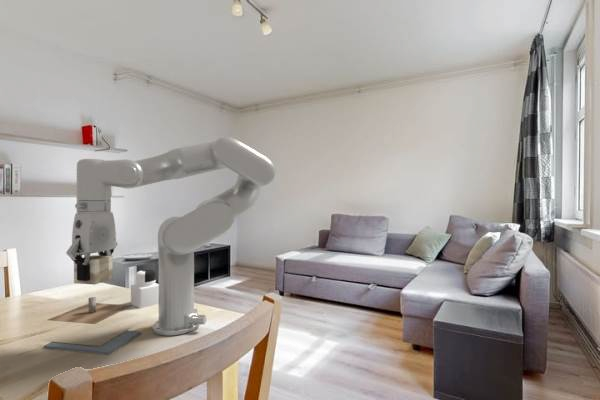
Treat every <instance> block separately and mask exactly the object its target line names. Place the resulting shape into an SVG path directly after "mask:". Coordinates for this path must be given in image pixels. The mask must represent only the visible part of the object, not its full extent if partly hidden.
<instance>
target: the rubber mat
mask: <svg viewBox="0 0 600 400" xmlns="http://www.w3.org/2000/svg"><path fill="white" fill-rule="evenodd" d="M141 334H142V331H140V330H139V331H136V330H125V331H123V332H122V333H120V334H119V335H117V336H115V337H113V338H111V339H110V340H108V341H107V342H105V343H103V344H102V345H91V344H80V343H71V342H70V343H68V342H59V341H58V342H57V341H50V342H48V343H46V344H44V345H43V349H48V350H57V351H58V350H59V351H69V352H77V353H78V352H79V353H87V354H90V353H91V354H99V355H110V354H112V353H113V352H115V351H116V350H118V349H120V348H121V347H122V346H124V345H125V344H128V343H129V342H130V341H132V340H133V339H135V338H137V337H138V336H140V335H141Z"/></svg>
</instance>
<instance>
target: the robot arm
mask: <svg viewBox="0 0 600 400" xmlns="http://www.w3.org/2000/svg"><path fill="white" fill-rule="evenodd" d="M226 168H228V169H229V170H231V171H232V172H234V173H236V174H237V180H236V182H235V184H234V185H232V187H230V188H228V189H226V190H225V191H223V192H221V193H219V194H217V195H215V196H213V197H211V198H209V199H206V200H204V201H202V202H201V203H200V204H198V205H197V206H196V207H195V209H193V210H191V211H190V212H188V213H186V214H184V215H182V216H176V215H175V216H171V217H169V218H167V219H165V220H164V221H162V223H161V224H160V226H159V227H158V232H157V251H158V284H159V304H158V320H157V321H155V322H153V324H152V332H153V333H155V334H157V335H160V336H178V335H182V334H186V333H190V332H192V331H194V330H195V329H197V328H198V327H199V326H200V325H206V323H207V316H206V314H199V312H198V308H195V253H194V251H196V250H197V249H199V248H202V247H203V246H204V245H207V244H208V243H210V242H212V241H214V240H215V239H217V238H218V237H220V236H222V235H223V234H225V233H227V231H229V230H230V229H231V227H232V226H233V223H234V221H235V218H237V217H238V216H240V215H242V214H243V213H245V212H246V211H248V210H249V209H251V207H253V206H254V205H255V203H256V201H257V200H258V198H259V195H260V192H261V187H264V186H267V185H269V184H270V183H271V182H273V180H274V179H275V175H276V169H275V168H276V167H275V165H274V164H273V162H272V161H271V159H269V158H268V157H266V156H265V155H263V154H261V153H260V152H258V151H257V150H255V149H253V148H252V147H250V146H248V145H246V144H244V143H243V142H242V141H240V140H238V139H236V138H234V137H231V136H222V137H219V138H218V139H216V140H212V141H207V142H203V143H202V142H201V143H198V144H192V145H188V146H187V145H186V146H181V147H177V148H176V147H175V148H174V149H171V150H169V151H167V152H165V153H162V154H159V155H156V156H152V157H148V158H143V159H138V160H133V159H114V160H113V159H112V160H105V159H99V158H82V159H81V158H80V159H79V160H78V161H77V163H76V204H75V205H74V207H75V209H76V213H75V215H74V218H73V223H72V231H71V232H72V233H71V245H70V246H69V247H68V249H67V251H66V255H67V256H68V257H69V258H70V259H71V260H72V261H73V264H74V263H75V265H77V280H78V281H89V280H90V265H89V264H88V261H89V258H90V256H91V255H92V254H95V253H97V255H98V256H113V255H112V254H113V253H114V251H115V249H116V247H117V246H118V242H117V234H116V233H117V232H116V222H115V216H114V213H113V211H112V210H111V209H112V187H114V188H122V189H125V190H126V189H129V190H130V189H134V188H139V187H142V186H147V185H152V184H155V183H159V182H164V181H171V180H179V179H184V178H188V177H191V176H197V175H200V174H204V173H205V174H206V173H208V172H214V171H218V170H222V169H226ZM83 257H84V259H83Z"/></svg>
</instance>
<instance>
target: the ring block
mask: <svg viewBox="0 0 600 400" xmlns="http://www.w3.org/2000/svg"><path fill="white" fill-rule="evenodd" d="M82 258H83V259H84V256H82ZM113 260H114V259H113V255H112V256H99V254H97V255H95V254H94V255H92V254H91V255H90V258H89V261H88V264H89V265H90V280H89V281H78V280H77V265H75V263H74V262H73V284H78V285H79V284H80V285H93V286H94V285H95V286H96V285H99V284H100V283H104V282H106V281H110V280H112V279H113V277H114V276H113V271H114V270H113V265H114V263H113Z"/></svg>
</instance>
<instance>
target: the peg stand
mask: <svg viewBox="0 0 600 400" xmlns="http://www.w3.org/2000/svg"><path fill="white" fill-rule="evenodd" d="M132 306H133V305H132V304H129V305H128V304H127V305H126V304H116V303H115V304H114V303H104V302H103V303H100V302H97V297H95V296H92V297H91V296H90V297H88V303H86V304H83V305H81V306H78V307H75V308H73V309H71V310H68V311H66V312H63V313H60V314H59V315H56V316H53V317H51V318H48V319H47V321H53V322H64V323H65V322H66V323H76V324H77V323H78V324H79V323H81V324H91V325H96V324H98V323H100V322H102V321H104V320H106V319H109V318H110V317H112V316H114V315H116V314H118V313H120V312H123V311H124V310H126V309H128V308H130V307H132Z"/></svg>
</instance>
